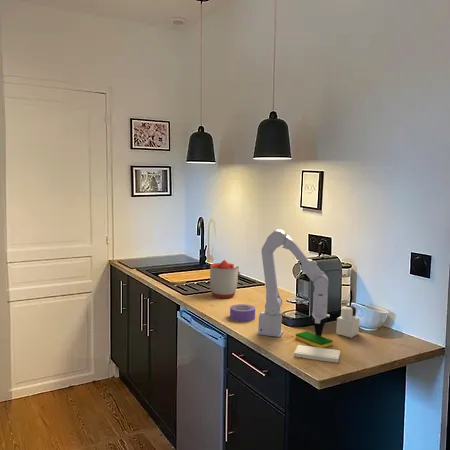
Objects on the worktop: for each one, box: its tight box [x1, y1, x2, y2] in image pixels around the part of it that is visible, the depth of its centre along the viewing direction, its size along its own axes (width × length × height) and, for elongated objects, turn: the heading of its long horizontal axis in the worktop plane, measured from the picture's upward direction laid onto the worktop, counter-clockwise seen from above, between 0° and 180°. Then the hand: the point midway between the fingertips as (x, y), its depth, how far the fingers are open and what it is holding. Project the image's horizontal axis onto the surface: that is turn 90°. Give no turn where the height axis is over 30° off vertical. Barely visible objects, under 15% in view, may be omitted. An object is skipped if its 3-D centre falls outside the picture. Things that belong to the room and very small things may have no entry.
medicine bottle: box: [335, 305, 360, 338], centre depth 204 cm, size 7×7×12 cm
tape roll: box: [229, 303, 256, 322], centre depth 224 cm, size 12×12×5 cm
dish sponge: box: [295, 330, 333, 348], centre depth 194 cm, size 7×14×2 cm, turn 38°
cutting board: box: [293, 344, 341, 364], centre depth 179 cm, size 16×9×2 cm, turn 72°
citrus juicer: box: [209, 259, 241, 299], centre depth 262 cm, size 16×17×20 cm
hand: (318, 335), depth 199 cm, fingers closed
